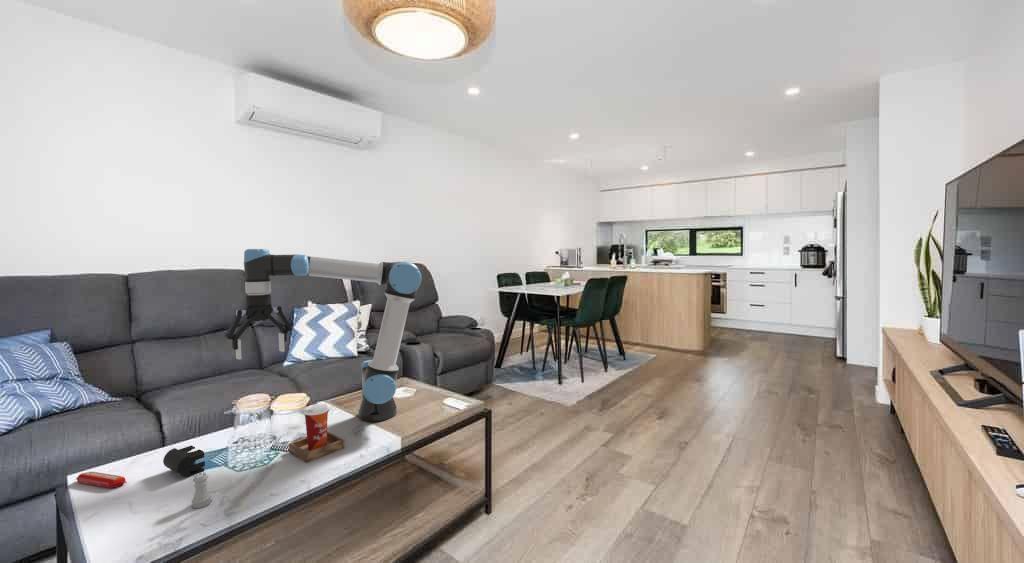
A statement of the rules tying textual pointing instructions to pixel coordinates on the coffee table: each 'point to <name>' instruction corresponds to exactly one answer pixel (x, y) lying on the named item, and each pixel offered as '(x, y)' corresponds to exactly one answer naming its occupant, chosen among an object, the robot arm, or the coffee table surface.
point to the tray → (303, 453)
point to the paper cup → (316, 425)
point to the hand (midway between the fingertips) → (261, 355)
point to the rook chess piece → (201, 491)
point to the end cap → (184, 461)
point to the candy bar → (101, 479)
